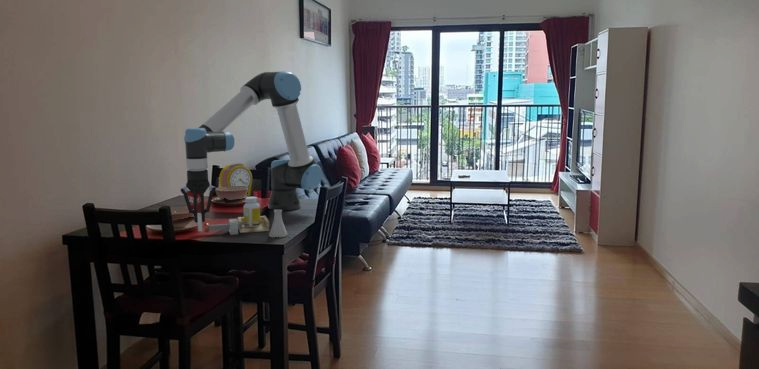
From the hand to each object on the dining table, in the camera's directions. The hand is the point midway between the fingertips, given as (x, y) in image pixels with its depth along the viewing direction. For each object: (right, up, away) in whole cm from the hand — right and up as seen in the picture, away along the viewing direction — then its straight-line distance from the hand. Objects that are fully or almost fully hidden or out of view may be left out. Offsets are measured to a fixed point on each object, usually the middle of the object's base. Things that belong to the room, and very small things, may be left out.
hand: (200, 230), depth 214 cm
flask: (+30, -2, 0) cm, 30 cm away
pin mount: (+12, -1, +4) cm, 13 cm away
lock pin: (+8, -1, +3) cm, 8 cm away
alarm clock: (-5, +10, +74) cm, 75 cm away
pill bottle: (+17, +1, +12) cm, 21 cm away
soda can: (-12, +3, +32) cm, 34 cm away
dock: (+18, 0, +11) cm, 21 cm away
